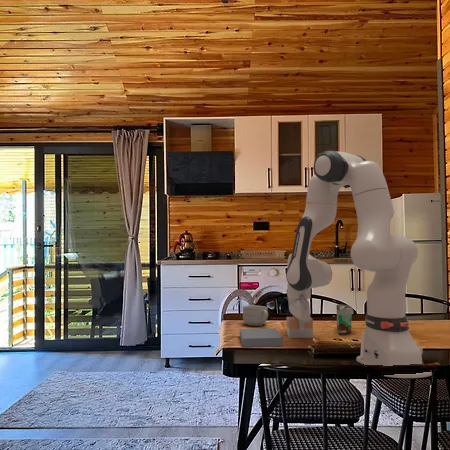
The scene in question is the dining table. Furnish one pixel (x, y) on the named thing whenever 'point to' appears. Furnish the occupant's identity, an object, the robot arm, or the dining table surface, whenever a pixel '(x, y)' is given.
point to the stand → (261, 337)
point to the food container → (344, 319)
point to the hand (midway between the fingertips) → (299, 329)
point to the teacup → (255, 315)
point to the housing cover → (294, 323)
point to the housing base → (300, 333)
